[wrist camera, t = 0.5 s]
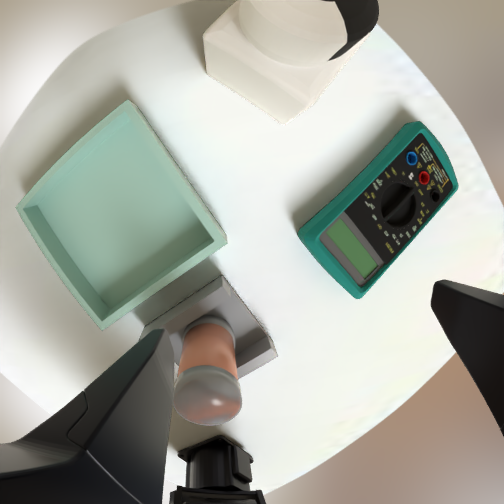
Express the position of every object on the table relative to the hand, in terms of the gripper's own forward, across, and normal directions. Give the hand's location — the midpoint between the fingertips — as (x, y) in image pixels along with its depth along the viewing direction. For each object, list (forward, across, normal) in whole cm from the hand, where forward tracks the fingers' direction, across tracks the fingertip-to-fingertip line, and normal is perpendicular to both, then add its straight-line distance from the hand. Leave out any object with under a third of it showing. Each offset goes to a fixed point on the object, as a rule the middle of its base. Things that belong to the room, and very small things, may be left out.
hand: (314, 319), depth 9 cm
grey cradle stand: (+13, +6, +9) cm, 17 cm away
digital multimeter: (+15, -10, +1) cm, 18 cm away
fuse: (+13, +6, +9) cm, 17 cm away
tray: (+14, +11, -1) cm, 18 cm away
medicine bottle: (+16, -2, -11) cm, 19 cm away
